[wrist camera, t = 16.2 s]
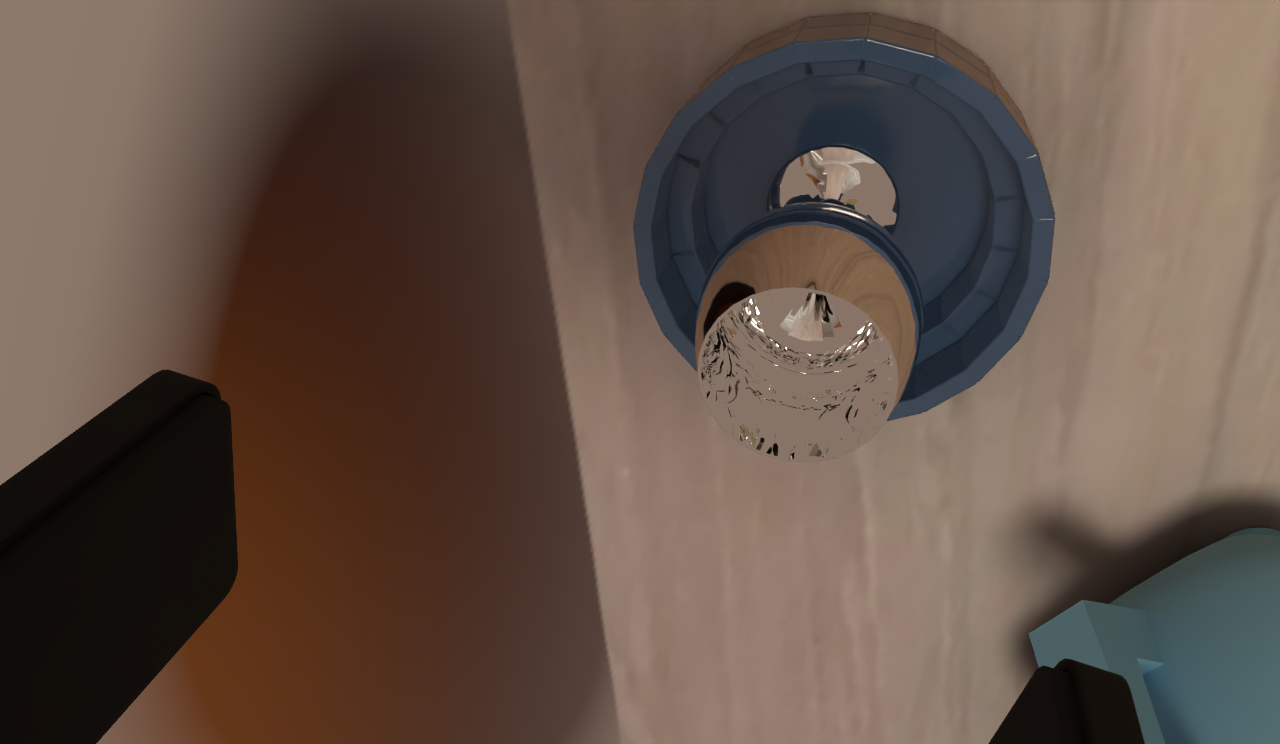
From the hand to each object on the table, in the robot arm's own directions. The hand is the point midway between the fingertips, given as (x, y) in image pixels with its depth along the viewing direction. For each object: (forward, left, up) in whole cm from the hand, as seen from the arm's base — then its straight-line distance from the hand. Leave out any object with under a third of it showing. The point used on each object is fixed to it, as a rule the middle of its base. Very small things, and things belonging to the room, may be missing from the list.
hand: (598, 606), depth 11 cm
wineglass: (+2, -3, -24) cm, 24 cm away
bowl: (+2, -3, -24) cm, 24 cm away
